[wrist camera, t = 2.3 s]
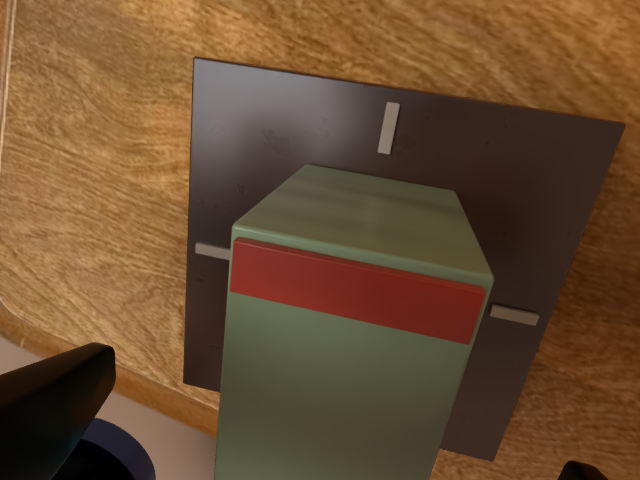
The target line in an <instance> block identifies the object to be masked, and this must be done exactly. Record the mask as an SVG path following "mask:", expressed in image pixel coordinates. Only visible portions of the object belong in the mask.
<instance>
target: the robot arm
mask: <svg viewBox="0 0 640 480" xmlns="http://www.w3.org/2000/svg"><path fill="white" fill-rule="evenodd" d="M115 380H116V370H115V351H114V349H113V347H111V346H109V345H105V344H101V343H95V342H94V343H90V344H87V345H84V346H81V347H78V348H75V349H73V350H70V351H67V352H64V353H61V354H58V355H56V356H53V357H50V358H47V359H44V360H41V361H39V362H36V363H33V364H30V365H27V366H25V367H22V368H19V369H16V370H13V371H10V372H7V373H4V374H2V375H0V480H127V468H126V467H125V466H124V465H123V464H122V463H119V462H116V461H112V460H109V459H105V458H102V457H98V456H95V455H91V454H88V453H84V452H81V451H77V450H74V448H75V446H76V445H77V443H78V442H79V440H80V439H81V437H82V436H83V434H84V433H85V431H86V430H87V428H88V426H89V425H90V423H91V422H92V420H93V419H94V417H95V416H96V414H97V413H98V411H99V410H100V408H101V406H102V405H103V403H104V402H105V400H106V399H107V397H108V395H109V394H110V393H111V391H112V389H113V387H114V384H115ZM558 480H608V479H607V478H606V477H605V476H604V475H603V474H602V473H601V472H600V471H599V470H598V469H597V468H596V467H594V466H592V465H589V464H585V463H581V462H577V461H568V462H567V463H566V464H565V465H564V467H563V470H562V472H561V474H560V476H559V478H558Z"/></svg>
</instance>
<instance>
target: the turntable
mask: <svg viewBox="0 0 640 480" xmlns="http://www.w3.org/2000/svg"><path fill="white" fill-rule="evenodd" d="M624 128H625V124H624V123H622V122H616V121H611V120H605V119H600V118H595V117H588V116H582V115H575V114H569V113H562V112H556V111H550V110H543V109H537V108H530V107H524V106H517V105H511V104H505V103H498V102H492V101H485V100H479V99H472V98H466V97H459V96H453V95H447V94H440V93H434V92H427V91H421V90H414V89H408V88H401V87H395V86H389V85H382V84H376V83H369V82H363V81H356V80H350V79H344V78H337V77H331V76H324V75H318V74H311V73H305V72H298V71H292V70H286V69H279V68H273V67H266V66H260V65H253V64H247V63H240V62H234V61H228V60H221V59H213V58H205V57H197V56H196V57H194V58H193V83H192V114H191V146H190V178H189V210H188V241H187V273H186V305H185V337H184V369H183V383H184V384H188V385H192V386H196V387H200V388H204V389H208V390H212V391H216V392H220V389H221V375H222V361H223V347H224V333H225V319H226V305H227V292H228V278H229V264H230V250H231V236H232V226H233V224H234V223H235V222H236V221H237V220H239V219H240V218H241V217H242V216H244V215H245V214H246V213H247V212H248V211H250V210H251V209H252V208H253V207H255V206H256V205H257V204H258V203H259V202H261V201H262V200H263V199H264V198H265V197H267V196H268V195H269V194H270V193H272V192H273V191H274V190H275V189H276V188H278V187H279V186H280V185H281V184H282V183H284V182H285V181H286V180H287V179H289V178H290V177H291V176H292V175H293V174H295V173H296V172H297V171H298V170H300V169H301V168H302V167H303V166H304V165H306V164H309V165H315V166H320V167H326V168H331V169H337V170H342V171H348V172H353V173H359V174H364V175H370V176H375V177H381V178H386V179H392V180H397V181H403V182H408V183H414V184H419V185H425V186H430V187H436V188H441V189H447V190H452V191H455V192H456V194H457V197H458V199H459V201H460V203H461V205H462V208H463V210H464V212H465V214H466V216H467V219H468V221H469V223H470V225H471V227H472V230H473V232H474V234H475V236H476V239H477V241H478V243H479V245H480V247H481V250H482V252H483V254H484V256H485V258H486V261H487V263H488V265H489V267H490V269H491V272H492V274H493V276H494V282H493V285H492V288H491V291H490V295H489V298H488V301H487V304H486V307H485V310H484V313H483V316H482V319H481V322H480V325H479V328H478V331H477V334H476V337H475V341H474V344H473V347H472V350H471V353H470V356H469V359H468V362H467V365H466V368H465V371H464V374H463V377H462V380H461V383H460V386H459V390H458V393H457V396H456V399H455V402H454V405H453V408H452V411H451V414H450V417H449V420H448V423H447V426H446V429H445V432H444V435H443V439H442V442H441V445H440V448H439V449H443V450H447V451H451V452H455V453H459V454H463V455H467V456H471V457H475V458H479V459H483V460H487V461H491V462H493V461H494V458H495V456H496V453H497V451H498V448H499V446H500V443H501V441H502V438H503V435H504V433H505V430H506V428H507V425H508V423H509V420H510V418H511V415H512V413H513V410H514V408H515V405H516V402H517V400H518V397H519V395H520V392H521V390H522V387H523V385H524V382H525V380H526V377H527V375H528V372H529V369H530V367H531V364H532V362H533V359H534V357H535V354H536V352H537V349H538V347H539V344H540V342H541V339H542V336H543V334H544V331H545V329H546V326H547V324H548V321H549V319H550V316H551V314H552V311H553V309H554V306H555V303H556V301H557V298H558V296H559V293H560V291H561V288H562V286H563V283H564V281H565V278H566V276H567V273H568V270H569V268H570V265H571V263H572V260H573V258H574V255H575V253H576V250H577V248H578V245H579V243H580V240H581V237H582V235H583V232H584V230H585V227H586V225H587V222H588V220H589V217H590V215H591V212H592V210H593V207H594V204H595V202H596V199H597V197H598V194H599V192H600V189H601V187H602V184H603V182H604V179H605V177H606V174H607V171H608V169H609V166H610V164H611V161H612V159H613V156H614V154H615V151H616V149H617V146H618V144H619V141H620V138H621V136H622V133H623V131H624Z"/></svg>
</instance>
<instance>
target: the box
mask: <svg viewBox="0 0 640 480" xmlns="http://www.w3.org/2000/svg"><path fill="white" fill-rule="evenodd" d="M493 282H494V276H493V274H492V272H491V269H490V267H489V265H488V263H487V261H486V258H485V256H484V254H483V252H482V250H481V247H480V245H479V243H478V241H477V239H476V236H475V234H474V232H473V230H472V227H471V225H470V223H469V221H468V219H467V216H466V214H465V212H464V210H463V208H462V205H461V203H460V201H459V199H458V197H457V194H456V192H455V191H452V190H447V189H441V188H436V187H430V186H425V185H419V184H414V183H408V182H403V181H397V180H392V179H386V178H381V177H375V176H370V175H364V174H359V173H353V172H348V171H342V170H337V169H331V168H326V167H320V166H315V165H309V164H306V165H304V166H303V167H302V168H301V169H300V170H298V171H297V172H296V173H295V174H293V175H292V176H291V177H290V178H289V179H287V180H286V181H285V182H284V183H282V184H281V185H280V186H279V187H278V188H276V189H275V190H274V191H273V192H272V193H270V194H269V195H268V196H267V197H265V198H264V199H263V200H262V201H261V202H259V203H258V204H257V205H256V206H255V207H253V208H252V209H251V210H250V211H248V212H247V213H246V214H245V215H244V216H242V217H241V218H240V219H239V220H237V221H236V222H235V223H234V224H233V226H232V236H231V250H230V264H229V278H228V292H227V305H226V319H225V333H224V347H223V361H222V375H221V389H220V403H219V417H218V431H217V445H216V459H215V473H214V480H429V478H430V475H431V472H432V469H433V466H434V463H435V460H436V457H437V454H438V451H439V448H440V445H441V442H442V439H443V435H444V432H445V429H446V426H447V423H448V420H449V417H450V414H451V411H452V408H453V405H454V402H455V399H456V396H457V393H458V390H459V386H460V383H461V380H462V377H463V374H464V371H465V368H466V365H467V362H468V359H469V356H470V353H471V350H472V347H473V344H474V341H475V337H476V334H477V331H478V328H479V325H480V322H481V319H482V316H483V313H484V310H485V307H486V304H487V301H488V298H489V295H490V291H491V288H492V285H493Z"/></svg>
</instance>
